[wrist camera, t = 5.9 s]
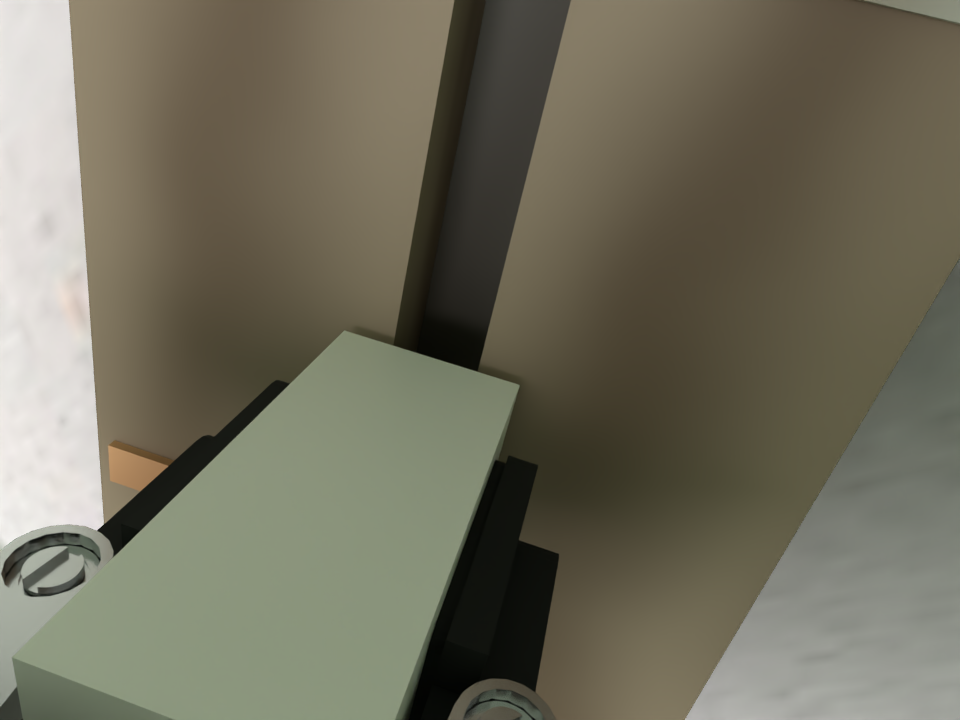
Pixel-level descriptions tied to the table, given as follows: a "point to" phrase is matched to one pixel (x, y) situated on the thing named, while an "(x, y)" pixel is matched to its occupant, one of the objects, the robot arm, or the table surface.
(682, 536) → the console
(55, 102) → the table surface
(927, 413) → the table surface
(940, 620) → the table surface
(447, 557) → the fader
